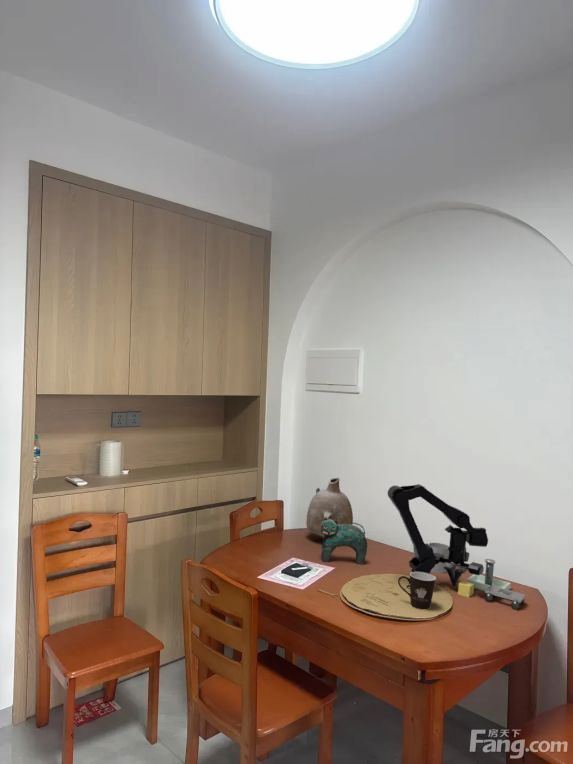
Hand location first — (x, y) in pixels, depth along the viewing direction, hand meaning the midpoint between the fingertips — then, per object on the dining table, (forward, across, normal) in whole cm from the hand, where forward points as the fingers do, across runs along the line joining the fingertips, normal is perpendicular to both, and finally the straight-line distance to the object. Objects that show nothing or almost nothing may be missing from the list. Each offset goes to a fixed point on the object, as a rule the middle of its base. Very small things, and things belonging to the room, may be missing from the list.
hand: (454, 586), depth 203 cm
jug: (+1, +66, -18) cm, 68 cm away
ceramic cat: (+2, +46, +4) cm, 46 cm away
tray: (+1, -8, -14) cm, 17 cm away
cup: (+2, +13, -20) cm, 24 cm away
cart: (+1, -17, -3) cm, 18 cm away
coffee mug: (+2, +5, +25) cm, 25 cm away
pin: (+1, -9, -14) cm, 17 cm away
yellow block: (+2, -4, 0) cm, 5 cm away
